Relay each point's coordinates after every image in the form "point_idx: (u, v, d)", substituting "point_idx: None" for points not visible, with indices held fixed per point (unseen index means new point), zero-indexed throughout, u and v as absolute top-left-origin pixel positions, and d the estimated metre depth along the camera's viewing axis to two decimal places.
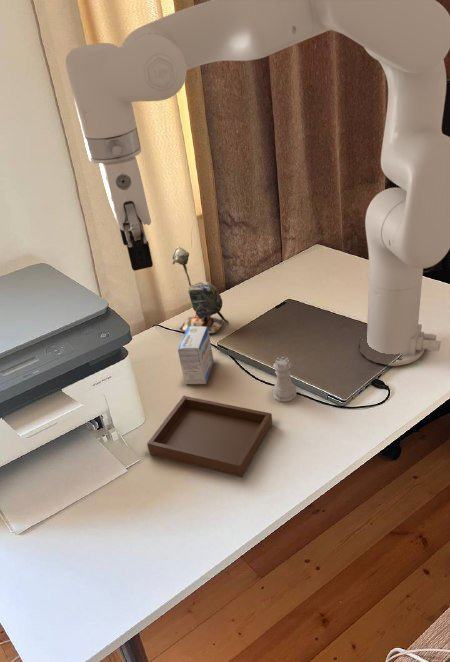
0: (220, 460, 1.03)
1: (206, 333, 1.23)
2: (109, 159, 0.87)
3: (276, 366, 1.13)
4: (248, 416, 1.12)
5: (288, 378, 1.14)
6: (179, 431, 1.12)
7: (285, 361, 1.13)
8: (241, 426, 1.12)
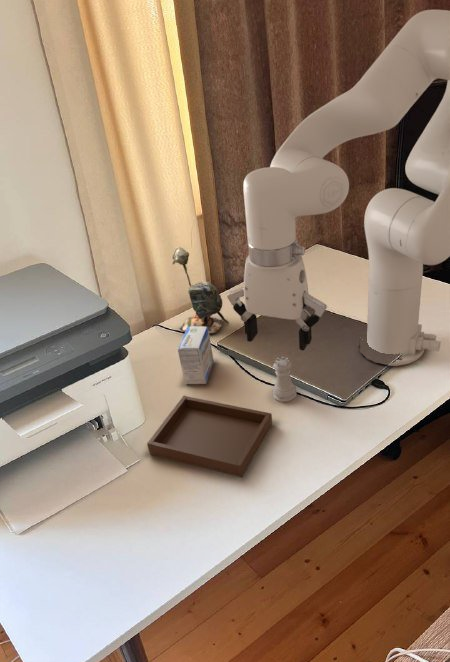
0: (220, 460, 1.03)
1: (206, 333, 1.23)
2: (291, 261, 0.98)
3: (276, 366, 1.13)
4: (248, 416, 1.12)
5: (288, 378, 1.14)
6: (179, 431, 1.12)
7: (285, 361, 1.13)
8: (241, 426, 1.12)
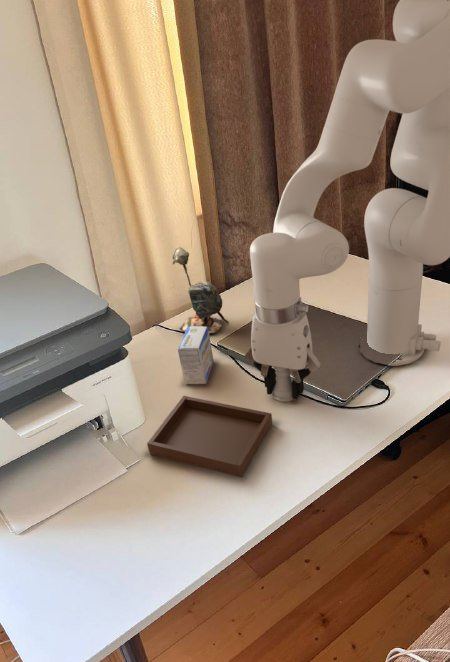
0: (220, 460, 1.03)
1: (206, 333, 1.23)
2: (295, 318, 1.04)
3: None
4: (248, 416, 1.12)
5: (288, 378, 1.14)
6: (179, 431, 1.12)
7: None
8: (241, 426, 1.12)
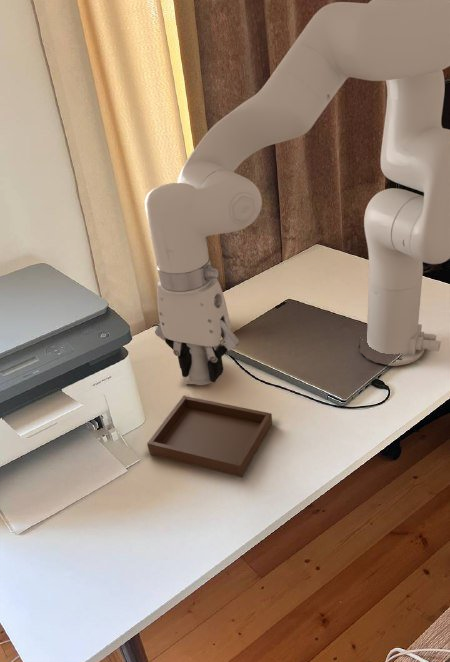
0: (220, 460, 1.03)
1: None
2: (204, 285, 0.89)
3: None
4: (248, 416, 1.12)
5: (204, 357, 0.99)
6: (179, 431, 1.12)
7: None
8: (241, 426, 1.12)
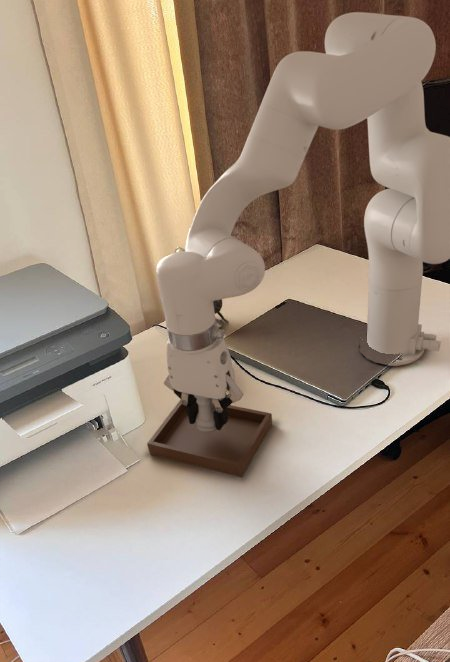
0: (220, 460, 1.03)
1: None
2: (211, 344, 0.95)
3: None
4: (248, 416, 1.12)
5: (210, 407, 1.05)
6: (179, 431, 1.12)
7: None
8: (241, 426, 1.12)
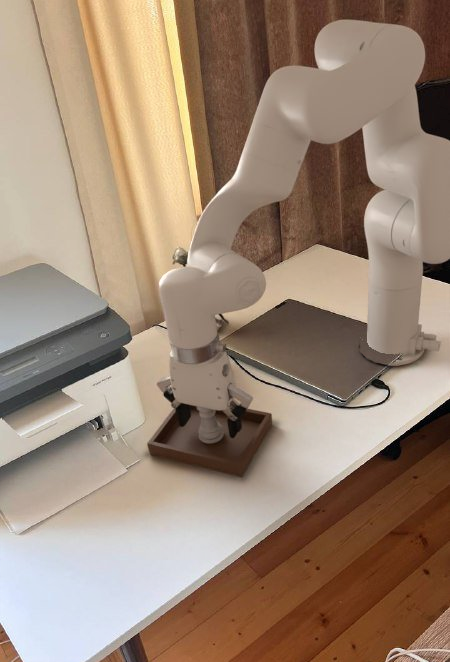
0: (220, 460, 1.03)
1: None
2: (213, 357, 0.97)
3: (199, 407, 1.05)
4: (248, 416, 1.12)
5: (213, 419, 1.07)
6: (179, 431, 1.12)
7: None
8: None
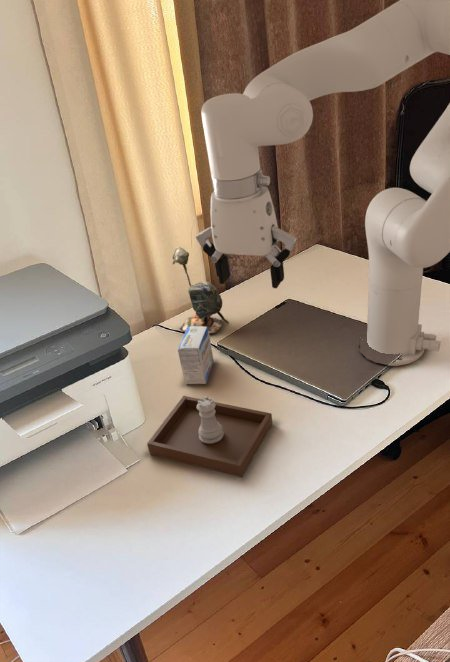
0: (220, 460, 1.03)
1: (206, 333, 1.23)
2: (256, 192, 0.95)
3: (199, 407, 1.05)
4: (248, 416, 1.12)
5: (213, 419, 1.07)
6: (179, 431, 1.12)
7: (209, 401, 1.06)
8: (241, 426, 1.12)
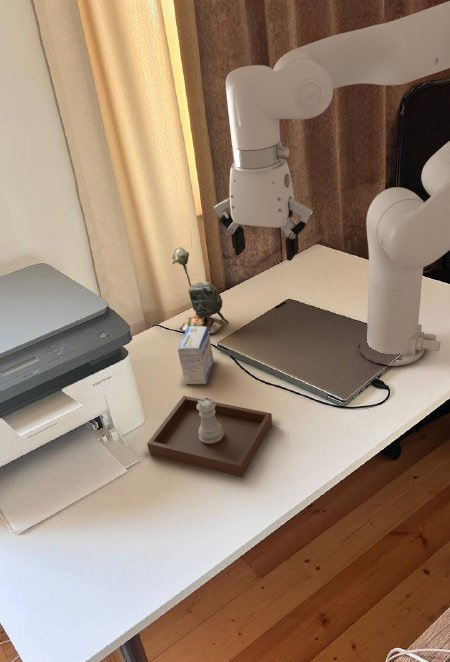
0: (220, 460, 1.03)
1: (206, 333, 1.23)
2: (275, 163, 0.98)
3: (199, 407, 1.05)
4: (248, 416, 1.12)
5: (213, 419, 1.07)
6: (179, 431, 1.12)
7: (209, 401, 1.06)
8: (241, 426, 1.12)
